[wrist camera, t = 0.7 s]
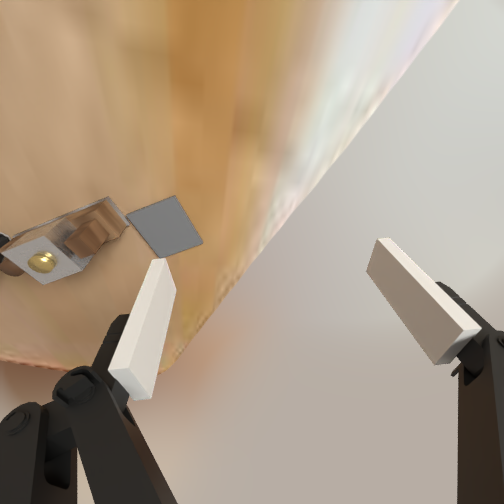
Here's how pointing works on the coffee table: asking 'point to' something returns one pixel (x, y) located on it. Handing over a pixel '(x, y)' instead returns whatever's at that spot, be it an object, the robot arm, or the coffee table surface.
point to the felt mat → (165, 227)
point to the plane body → (81, 231)
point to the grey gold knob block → (47, 252)
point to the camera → (3, 239)
